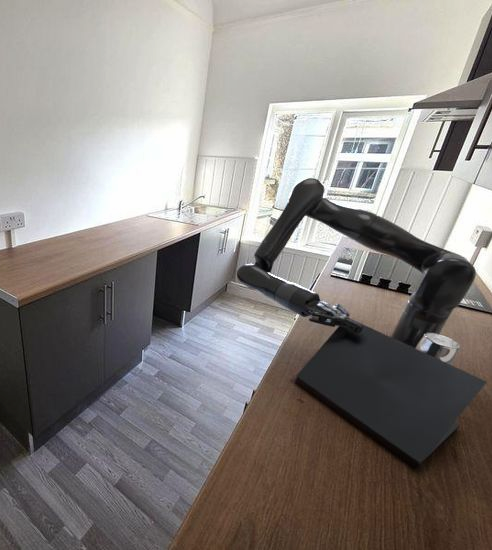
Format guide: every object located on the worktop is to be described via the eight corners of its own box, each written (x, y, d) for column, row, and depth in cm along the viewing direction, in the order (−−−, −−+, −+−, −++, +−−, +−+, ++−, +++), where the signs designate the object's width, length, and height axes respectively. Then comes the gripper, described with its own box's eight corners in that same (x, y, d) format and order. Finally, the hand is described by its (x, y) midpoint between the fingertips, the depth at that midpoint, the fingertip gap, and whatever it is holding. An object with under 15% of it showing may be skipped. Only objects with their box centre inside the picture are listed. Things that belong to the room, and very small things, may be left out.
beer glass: (425, 398, 76) (454, 351, 70) (394, 380, 82) (418, 335, 76) (437, 389, 80) (465, 344, 74) (405, 373, 85) (429, 329, 79)
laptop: (338, 361, 89) (341, 355, 88) (456, 430, 68) (460, 424, 67) (294, 382, 79) (296, 376, 79) (415, 469, 58) (420, 463, 58)
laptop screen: (347, 318, 79) (346, 316, 79) (486, 383, 59) (487, 381, 58) (296, 377, 79) (296, 375, 78) (419, 464, 58) (419, 463, 57)
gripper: (284, 290, 82) (351, 322, 68) (313, 283, 88) (380, 311, 74) (277, 313, 85) (340, 349, 71) (306, 305, 91) (369, 336, 77)
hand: (360, 329), depth 72 cm, fingers closed
